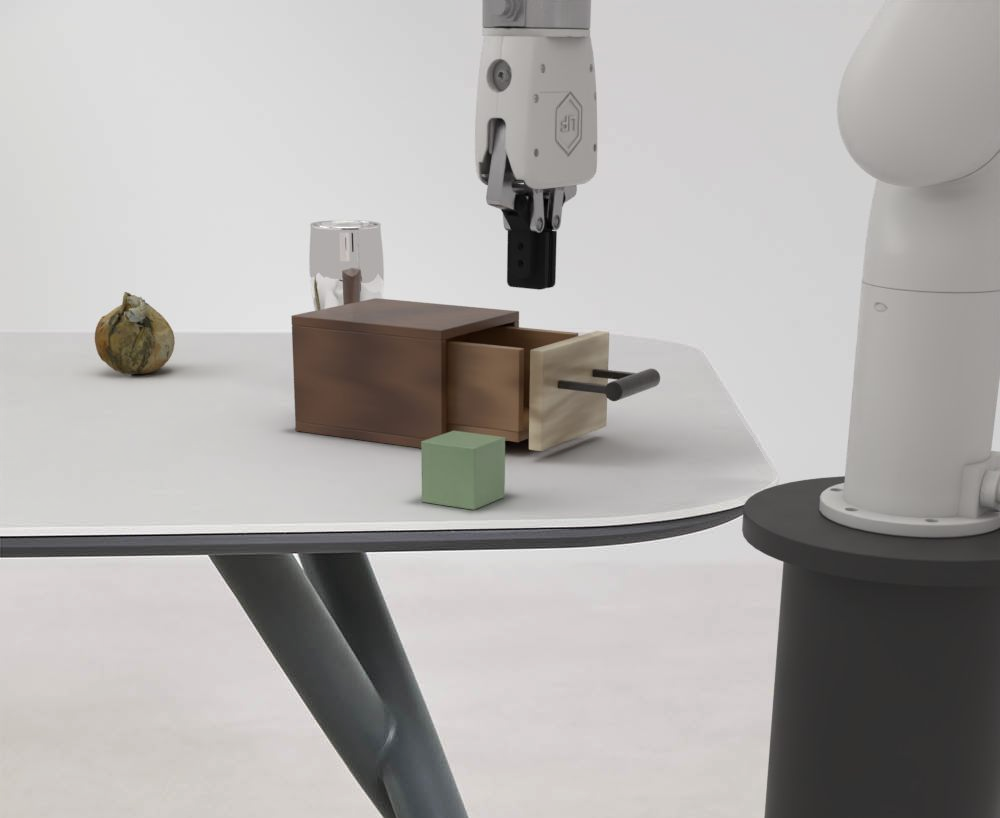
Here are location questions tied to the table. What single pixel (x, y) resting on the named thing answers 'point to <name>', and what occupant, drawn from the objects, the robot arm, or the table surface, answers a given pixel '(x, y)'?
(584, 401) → the drawer
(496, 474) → the block
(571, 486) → the table surface
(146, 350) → the onion
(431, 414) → the cabinet
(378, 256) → the beer glass
